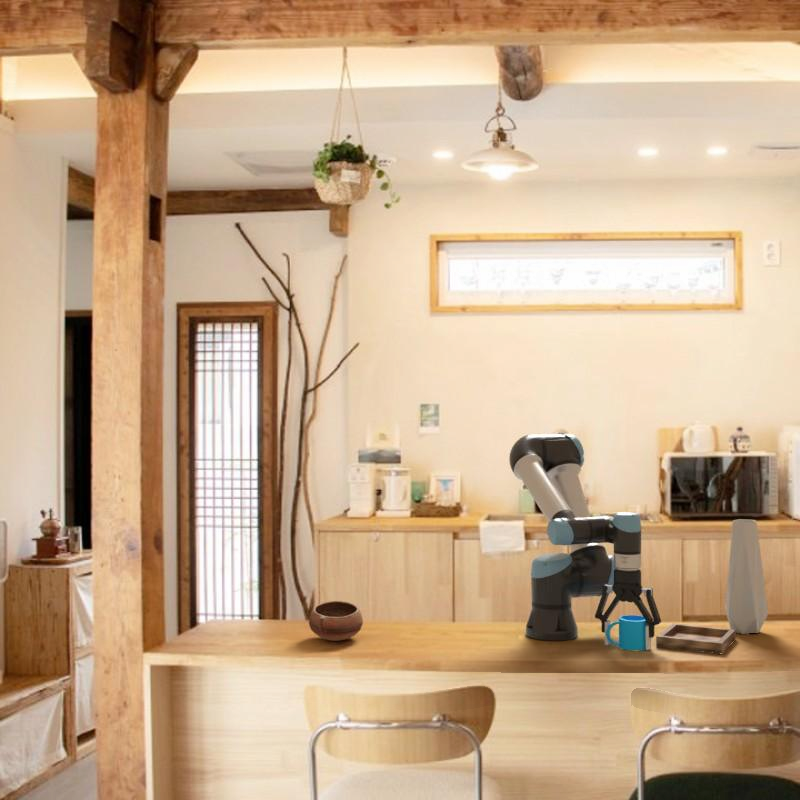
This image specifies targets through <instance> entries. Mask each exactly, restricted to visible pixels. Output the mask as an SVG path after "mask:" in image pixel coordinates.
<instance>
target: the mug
mask: <svg viewBox="0 0 800 800" xmlns="http://www.w3.org/2000/svg"><path fill="white" fill-rule="evenodd" d="M616 625H618V642H616V641H615V640H613V639H612V637H611V634H610V635H609V632H610V633H611V629H612V628H613V627H615V626H616ZM647 625H648V624H647V622H646V620H645V619H644V617H643V615H637V614H627V615H626V614H625V615H620V616H619V617H618V620H616V621H613V622H612V623H610V625H609V626H608V628H607V630H606V637H607V639H608V640H609V642H610V644H612V645H614V646H617V647H618V648H619V647H620V648H619V649H621V648H622V649H621V650H624V649H627V650H626V651H630V650H643V651H645V650H644V649H646V626H647Z"/></svg>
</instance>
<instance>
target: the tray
mask: <svg viewBox="0 0 800 800" xmlns="http://www.w3.org/2000/svg"><path fill="white" fill-rule="evenodd" d="M736 635H737V633H736V630H734V629H731V628H723V627H715V626H714V627H713V626H712V627H711V626H703V625H702V626H701V625H693V624H683V623H674V622H673V623H671V624H669V626H667V627H666V628H665V629H663V630H662V631H661V632H659V633H658V634H657V635H656V636H655V639H656V640H655V641H656V643H655V644H656V645H655V646H658V647H657V648H661V647H667V648H666V649H670V648H673V649H672V650H678V649H680V650H679V651H687V650H692V651H691V652H696V651H702V652H701V653H705V652H713V653H723V652H724V651H725V650H726V649H727V648H728V647H729V645H730V644H731V643H732V642H733V641H734V640H735V639H736V640H737V638H736V637H737V636H736ZM736 640H735V641H736ZM735 641H734V642H735ZM734 642H733V643H734ZM733 643H732V644H733ZM729 648H730V647H729ZM729 648H728V649H729ZM728 649H727V650H728ZM727 650H726V651H727ZM703 651H704V652H703ZM726 651H725V652H726ZM725 652H724V653H725ZM713 653H712V654H713ZM724 653H723V654H724Z"/></svg>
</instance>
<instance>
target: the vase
mask: <svg viewBox="0 0 800 800" xmlns="http://www.w3.org/2000/svg"><path fill="white" fill-rule="evenodd" d="M761 552H762V551H761V544H760V537H759V529H758V523H757V521H756V520H755V519H745V518H744V519H743V518H742V519H741V518H739V519H734V520H732V523H731V537H730V548H729V560H728V571H727V583H726V595H725V596H726V597H725V605H724V606H725V608H724V609H725V614H726V618H727V621H728V624H729V629H734V630H736V632H738V633H737V634H740V633H743V634H742V635H750V634H749V633H758V634H759V633H760V631H761V629H762V627H763V625H764V623H766V622H765V621H766V620H767V617H768V615H769V612H768V611H769V610H768V602H767V593H766V586H765V576H764V569H763V562H762V553H761Z"/></svg>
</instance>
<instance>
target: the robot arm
mask: <svg viewBox="0 0 800 800" xmlns="http://www.w3.org/2000/svg"><path fill="white" fill-rule="evenodd" d="M584 455H585V451H584V447H583V445H582V442H581V441H580V439H579V438H578V437H577V436H576V435H574V434H571V433H563V432H561V433H560V432H558V433H548V434H547V433H545V434H544V433H541V434H539V433H537V434H527V435H524V436H521V437H520V438H518V440H517V441H515V443H514V444H513V446H512V447H511V450H510V453H509V459H508V460H509V465H510V469H511V471H512V473H513V474H514V476H515V477H516V479H518V480H520V481H522V482H523V484H524V486H525V487H526V488H527V490H528V492H529V494H530V495H531V497H532V498H533V500H534V502H535V503H536V505H537V506H538V508H539V509H540V511H541V513H542V514H543V516H544V517H545V518H546V520H547V528H546V532H547V537H548V540H549V542H550V543H551V544H552V545H554V546H569V549H570V551H569V553H564V552H559V553H547V554H542V555H539V556H537V557H536V558H534V559H533V560H532V562H531V571H530V577H531V578H530V579H531V581H530V582H531V583H530V584H531V587H530V588H531V589H530V591H531V610H530V613H529V615H528V619H527V622H526V625H525V635H526V636H527V637H529V638H530V639H531V638H532V639H534V640H535V639H536V640H540V641H542V640H543V641H558V642H559V641H567V640H573V639H576V638H577V637H578V634H579V630H578V624H577V622H576V619H575V616H574V613H573V610H572V609H573V607H572V598H573V599H575V598H577V599H578V598H589V597H600V601H599V603H598V606H597V609H596V612H595V614H594V617H595V619H597V620H600V622H601V632H602V633H604V646H609V645H611V642H609V640H608V639H607V637H606V630H607V628H608V626H609V625H611V620H609V617H610V616H611V615H612V613H613V611H614V610H615V609H616V607H617V606H618V604H619V603H620V602H625V603H626V602H628V603H633V604H634V605H635V606H636V608H637V609H638V611H639V612H640V614H641V616H643V617H644V619H645V620H646V622H647V624H648V625H647V626H646V650H645V651H649V650H650V649H651V648H652V639H653V638H654V637H655V626H658V625H660V624H661V623H662V618H661V615H660V613H659V610H658V607H657V604H656V601H655V599H654V589H653V587H650V588H644V587H643V585H642V570H641V568H642V524H641V523H642V522H641V521H642V520H641V516H640V514H639V513H637V512H630V511H622V512H621V511H619V512H615V513H614V514H613V516H612V515H609V514H597V515H595V516H591V514H590V511H589V507H588V505H587V501H586V497H585V494H584V490H583V487H582V484H581V480H580V477H579V475H580V473H581V472H582V471H581V470H582V467H583V465H584V462H585V457H584ZM602 543H603V544H605V543H609V544H613V555H611V554H608V552H607V549H606V547H605V546H604V545H603V544H602ZM612 593H614V594H615V596H614V598H613V599H612V601H611V603H610V604H609V606H608V608H607V609H606V610H605V607H606V603H607V601H608V598H609V596H610V595H611V594H612ZM642 594H643V595H644V596H645V598H646V601H647V604H648V607H649V610H650V612H649V610H648V609H647V607H646V606H645V604H644V602H643V600H642V598H641V595H642ZM604 610H605V612H604ZM603 612H604V613H603ZM650 613H651V614H650ZM609 635H610V636H611V631H610V632H609Z"/></svg>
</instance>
